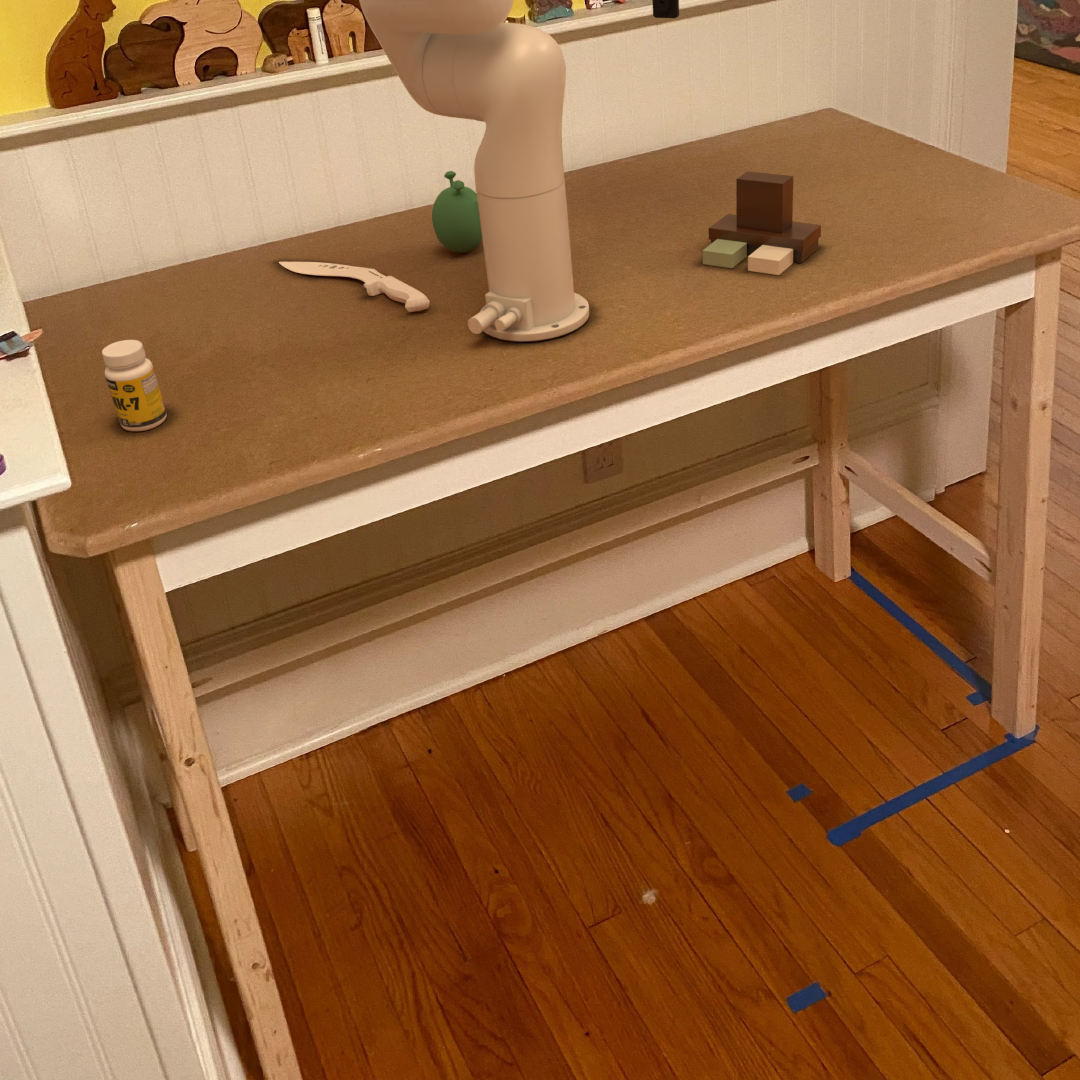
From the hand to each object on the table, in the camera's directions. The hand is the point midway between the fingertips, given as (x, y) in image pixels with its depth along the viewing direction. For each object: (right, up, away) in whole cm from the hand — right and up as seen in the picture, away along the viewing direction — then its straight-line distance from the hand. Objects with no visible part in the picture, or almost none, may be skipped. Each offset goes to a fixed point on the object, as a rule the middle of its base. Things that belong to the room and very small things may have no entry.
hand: (686, 8), depth 145 cm
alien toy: (-27, -26, +14) cm, 40 cm away
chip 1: (+5, -30, +2) cm, 30 cm away
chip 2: (+10, -31, -1) cm, 33 cm away
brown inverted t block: (+10, -28, +4) cm, 30 cm away
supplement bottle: (-58, -51, -19) cm, 80 cm away
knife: (-41, -32, +7) cm, 53 cm away
